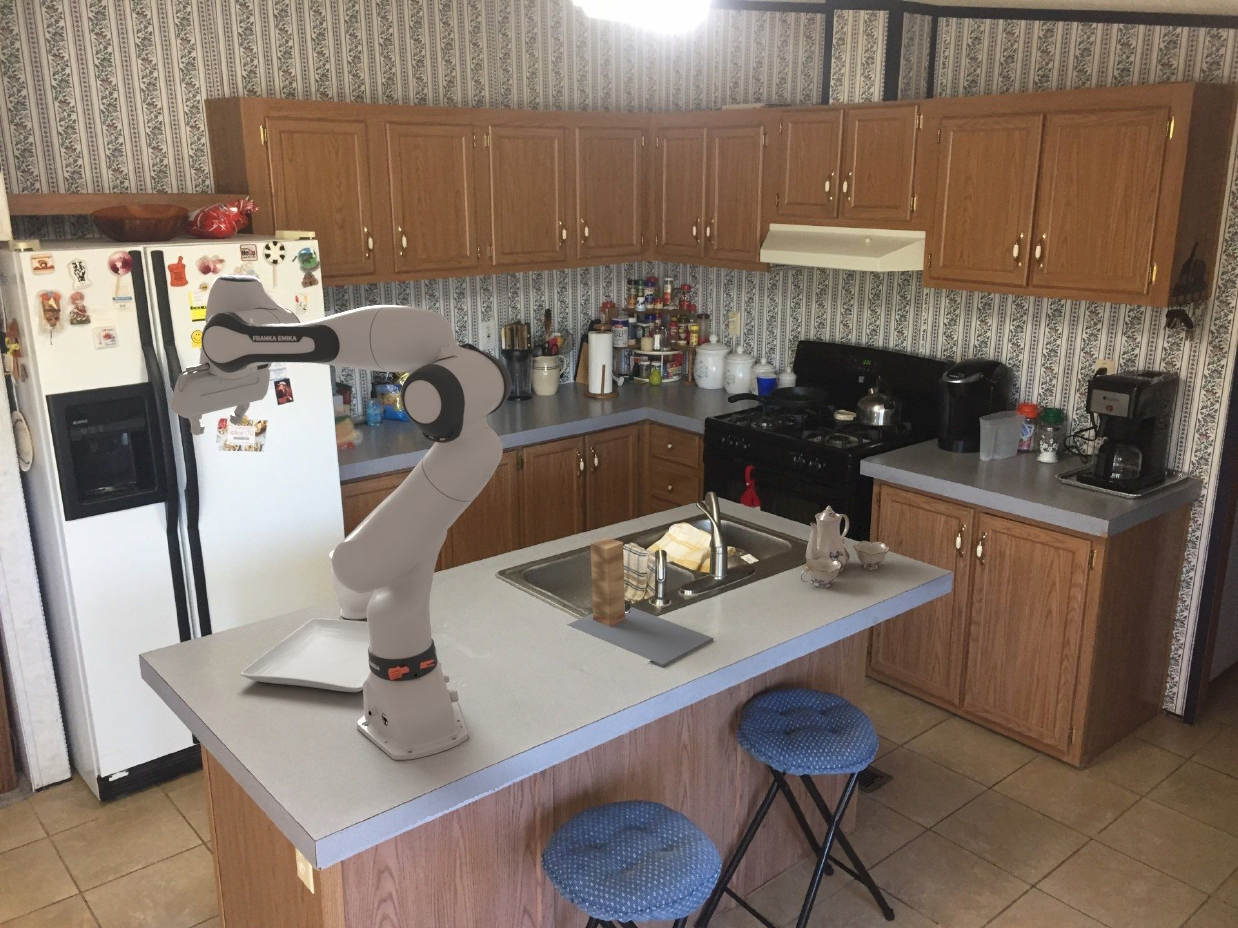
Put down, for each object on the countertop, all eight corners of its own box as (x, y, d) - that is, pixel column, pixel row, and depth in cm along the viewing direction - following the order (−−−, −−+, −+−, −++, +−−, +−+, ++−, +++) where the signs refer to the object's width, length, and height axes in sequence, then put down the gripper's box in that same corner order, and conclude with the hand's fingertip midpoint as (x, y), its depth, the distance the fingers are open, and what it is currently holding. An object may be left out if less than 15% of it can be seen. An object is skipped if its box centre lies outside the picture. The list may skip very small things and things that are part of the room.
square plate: (426, 641, 219) (424, 625, 217) (362, 705, 193) (360, 686, 192) (314, 630, 226) (312, 614, 225) (239, 689, 200) (236, 671, 199)
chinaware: (826, 603, 235) (835, 538, 229) (771, 576, 247) (778, 514, 241) (895, 570, 253) (905, 509, 247) (840, 547, 265) (848, 488, 259)
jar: (389, 603, 237) (383, 543, 233) (374, 622, 227) (368, 560, 223) (345, 602, 238) (338, 543, 234) (328, 621, 229) (321, 559, 224)
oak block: (593, 619, 225) (590, 543, 220) (609, 612, 228) (606, 537, 223) (609, 626, 221) (606, 548, 216) (625, 618, 225) (623, 542, 220)
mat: (567, 627, 223) (567, 624, 223) (618, 604, 234) (617, 601, 234) (662, 667, 204) (662, 664, 204) (712, 640, 215) (712, 637, 215)
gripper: (194, 375, 175) (184, 447, 180) (279, 358, 193) (268, 423, 198) (167, 361, 177) (159, 433, 182) (253, 346, 195) (244, 411, 200)
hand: (216, 428), depth 190 cm, fingers open, 8 cm apart
